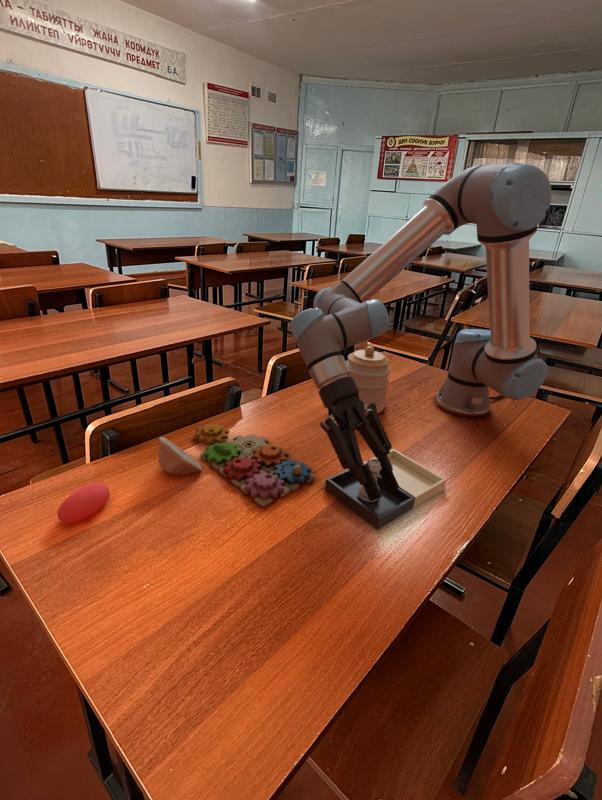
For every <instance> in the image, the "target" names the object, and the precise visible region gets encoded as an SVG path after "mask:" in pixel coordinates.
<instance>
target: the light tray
mask: <svg viewBox="0 0 602 800" xmlns="http://www.w3.org/2000/svg"><path fill="white" fill-rule="evenodd" d="M387 456H388V459H389V461H390V463H391V465H392V467H393V470H392V472H393V474H394V476H395V478H396V480H397V483H398V485H399V487H400V489H402V490H403V491H405V492H406V493H408V494H409V495H411V496H412V497H414V498H415V500H414V504H413V508H412V509H414V508H416V507H417V506H419V505H421V504H422V503H424V502H426V501H427V500H429V499H431V498H433V497H434V496H436V495H438V494H439V493H441V492H443V491H444V490H445V488H446V483H447V479H446V478H444V477H443V476H441V475H439V474H438V473H436V472H434V471H432V470H431V469H429V468H428V467H425V466H424V465H422V464H421V463H419V462H417V461H415V460H413V458H410V457H409V456H407V455H405V454H403V453H402V452H400V451H398V450H397V449H395V448H391V449H390V453H389V454H387ZM369 459H370V461H371V459H374V460H376V459H378V458H376V457H375V456H374V457H372V458H369ZM367 461H368V459H367V460H365V461H363V464H364V465H365V463H367ZM379 475H380V473H379ZM380 476H381V475H380Z"/></svg>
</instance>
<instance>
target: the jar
mask: <svg viewBox="0 0 602 800" xmlns="http://www.w3.org/2000/svg"><path fill="white" fill-rule="evenodd" d="M345 361H346V363H347V366H348V368H349V370H350V372H351V374H350V375H349V376H351V377H353V379H354V381H355V383H356V385H357V387H358V389H359V398H360V399H361V400H362V401H363V403H364V404H368V405H370V404H371V403H375V405H376V409H377V414H378V415H379V414H381V412H383V411H384V409H385V407H386V402H387V393H388V387H389V384H390V378H389V375H390V374H391V373H392V368H391V367H390V365H389V364H390V359H389V358H388V357H386V356H385V355H384V354H383V353H382V352H380V351H376V350H375V348H374V347H373V346H370V345H369V346H368V345H367V346H366V347H365V348H364V349H357V350H354V351H353V352H351V353H349V354H348V355H347V360H345Z"/></svg>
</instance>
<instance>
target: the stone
mask: <svg viewBox="0 0 602 800" xmlns="http://www.w3.org/2000/svg"><path fill="white" fill-rule="evenodd" d="M158 449H159V450H158V464H159V467H160V468H161V469H162V470H164V471H165V472H166V473H167V474H170V475H179V476H180V475H185V474H186V475H187V474H191V473H195V472H202V471H203V467H202V466H201V465H200V464H199V463H197V461H196V460H195V459H194V458H193V457H192V455H190V454H189V453H188V452H186V451H185V450H184V449H182V448H181V447H179V446H178V445H176V444H175V443H173V442H172V441H171V440H169V439H168V438H166V437H164V436H160V437H159V438H158Z"/></svg>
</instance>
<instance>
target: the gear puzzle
mask: <svg viewBox="0 0 602 800" xmlns="http://www.w3.org/2000/svg"><path fill="white" fill-rule="evenodd" d="M229 434H230V430H229V429H227V428H225V426H224V425H220V424H216V423H211V424H210V423H207V424H203V425H202V427H197V428H195V433H194V434H193V437H194V438H196V439H198V442H199V443H204V442H206V444H207V445H210V446H206V448H205V451H203V452H201V453H200V459H202V461H203V462H206V463H211V465H210V466H211V468H213V469H214V470H216V471H217V472H219V474H220V475H221V476H223V477H224V478H227V479H231V484H233V485H234V486H235V487H236V488H240V491H241V492H242V493H243V494H245V495H246V496H249V495H250V497H251V498H253V500H254V502H255V503H256V504H257V505H259V506H260V507H266V506H268V505H270V504H273V502H274V499H273V498H277V497H278V496H279V497H280V498H283V497H285V496H287V495H289V494H290V492H294V491H296V490H298V489H300V487H301V484H305V483H307V484H309V483H311V482H312V481H314V480H315V479H316V475H315V474H314V473H312V470H313V468H312V467H310V466H309V465H307V464H306V463H305V462H303V461H302V462H297V461H296V460H295V459H291V458H290V453H289V452H288V451H286V450H284V448H283V447H280V446H275V445H274V444H268V443H269V440H268V439H267V438H266V437H264V436H260V438H259V437H258V436H256V435H254V434H251V433H250V434H248V435H246V436H242V435H241V434H240V435H239V434H238V435H236V436H234V437H232V441H229V442H228V441H225V442H223V443H222V441H223V440H228V439H229V436H228V435H229ZM213 443H214V444H213ZM211 444H212V445H211ZM304 482H305V483H304Z"/></svg>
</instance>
